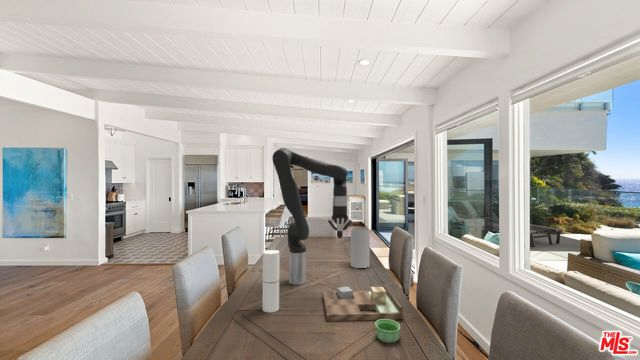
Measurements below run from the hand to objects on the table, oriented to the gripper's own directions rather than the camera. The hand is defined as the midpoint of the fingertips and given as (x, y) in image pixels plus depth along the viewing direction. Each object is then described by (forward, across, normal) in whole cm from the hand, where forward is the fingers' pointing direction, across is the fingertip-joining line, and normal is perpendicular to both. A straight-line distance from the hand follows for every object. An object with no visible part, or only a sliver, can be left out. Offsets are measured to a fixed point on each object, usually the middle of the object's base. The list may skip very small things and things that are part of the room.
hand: (339, 238), depth 144 cm
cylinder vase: (+27, +19, +40) cm, 52 cm away
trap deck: (+27, +6, -20) cm, 34 cm away
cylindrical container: (+27, -33, -20) cm, 47 cm away
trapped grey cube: (+27, +1, -13) cm, 30 cm away
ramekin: (+27, +12, -44) cm, 53 cm away
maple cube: (+24, +15, -20) cm, 35 cm away
